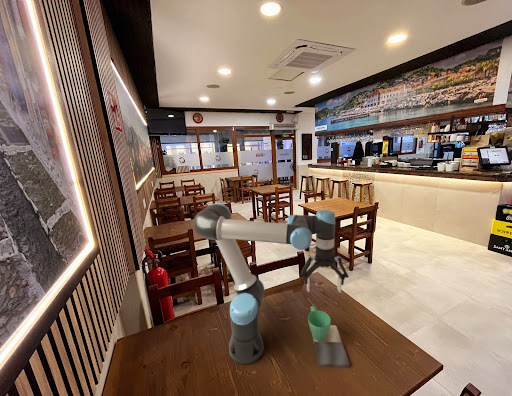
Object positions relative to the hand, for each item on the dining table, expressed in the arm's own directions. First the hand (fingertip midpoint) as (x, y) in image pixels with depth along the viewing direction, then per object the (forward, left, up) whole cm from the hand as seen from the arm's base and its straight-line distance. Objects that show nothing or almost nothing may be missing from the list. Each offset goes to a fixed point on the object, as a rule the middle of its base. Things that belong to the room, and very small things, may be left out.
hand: (323, 290), depth 99 cm
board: (+1, -6, -23) cm, 24 cm away
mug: (-3, -1, -22) cm, 22 cm away
